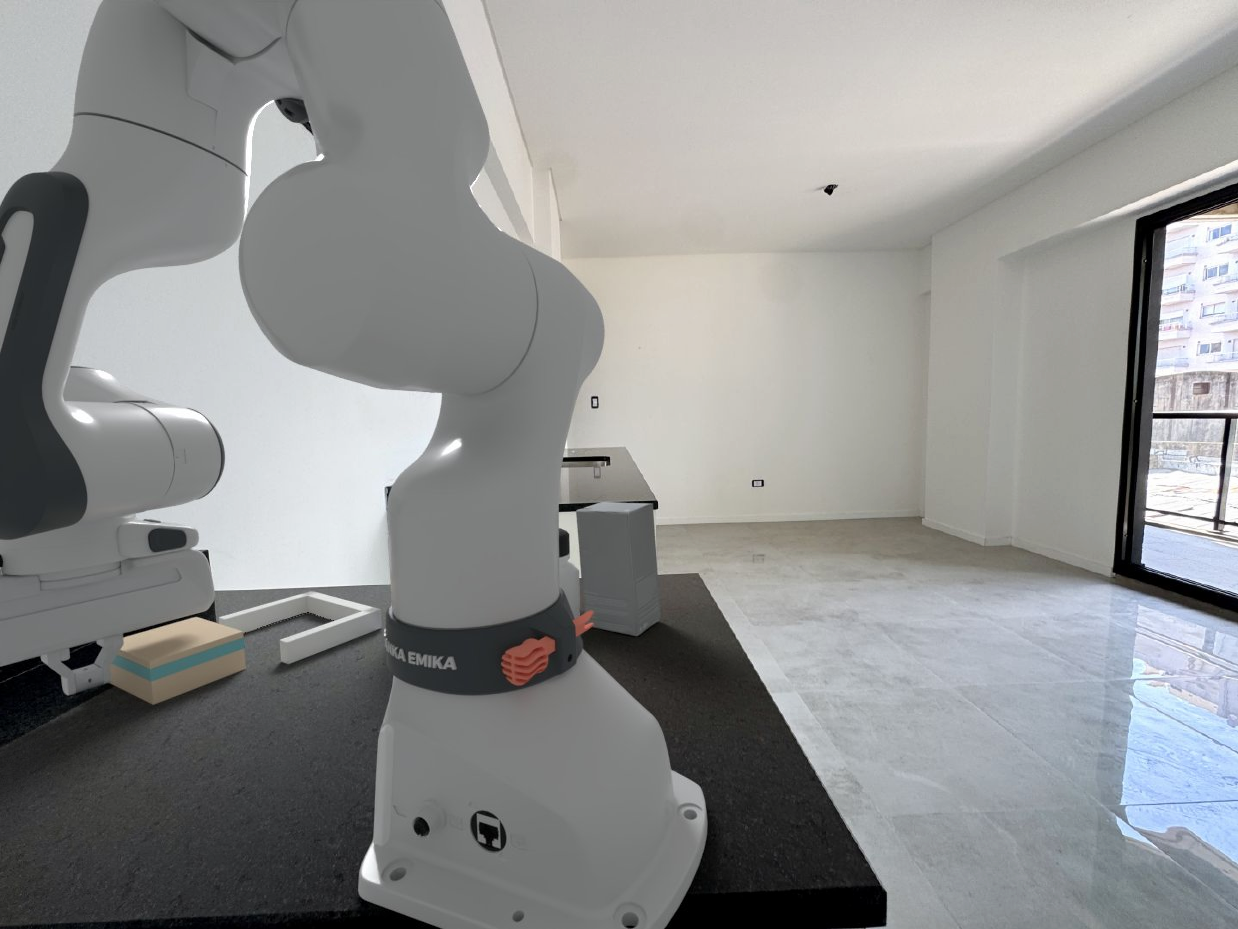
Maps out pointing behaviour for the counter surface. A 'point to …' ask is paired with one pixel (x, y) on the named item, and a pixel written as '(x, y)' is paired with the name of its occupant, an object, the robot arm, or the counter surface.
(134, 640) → the carton
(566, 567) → the medicine bottle
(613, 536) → the skincare box
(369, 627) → the frame
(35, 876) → the counter surface
